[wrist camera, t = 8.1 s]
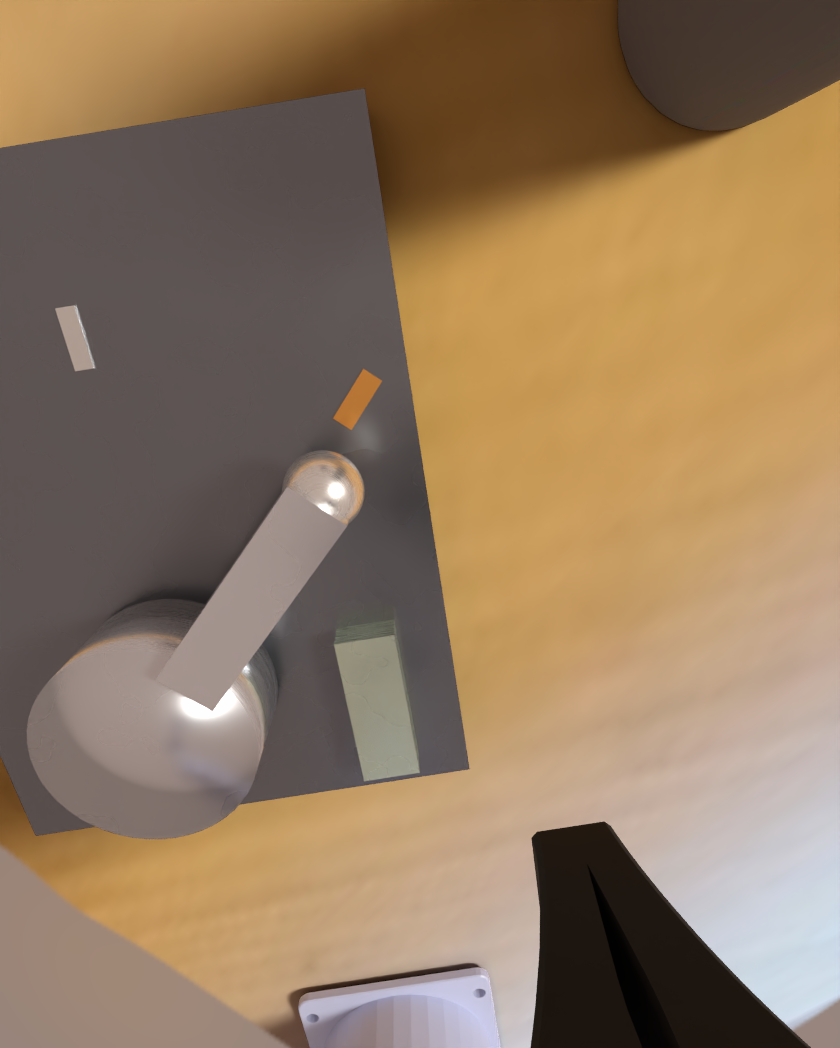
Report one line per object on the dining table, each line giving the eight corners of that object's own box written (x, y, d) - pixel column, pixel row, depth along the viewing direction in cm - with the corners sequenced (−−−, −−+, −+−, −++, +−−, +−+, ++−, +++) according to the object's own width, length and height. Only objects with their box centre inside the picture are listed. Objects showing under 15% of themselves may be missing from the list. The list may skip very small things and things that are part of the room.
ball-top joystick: (215, 795, 21) (181, 889, 17) (46, 708, 20) (-27, 790, 16) (439, 500, 18) (450, 544, 15) (258, 375, 17) (224, 391, 13)
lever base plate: (464, 740, 23) (472, 790, 20) (57, 803, 23) (19, 859, 21) (367, 108, 16) (362, 73, 14) (-195, 199, 17) (-293, 180, 14)
